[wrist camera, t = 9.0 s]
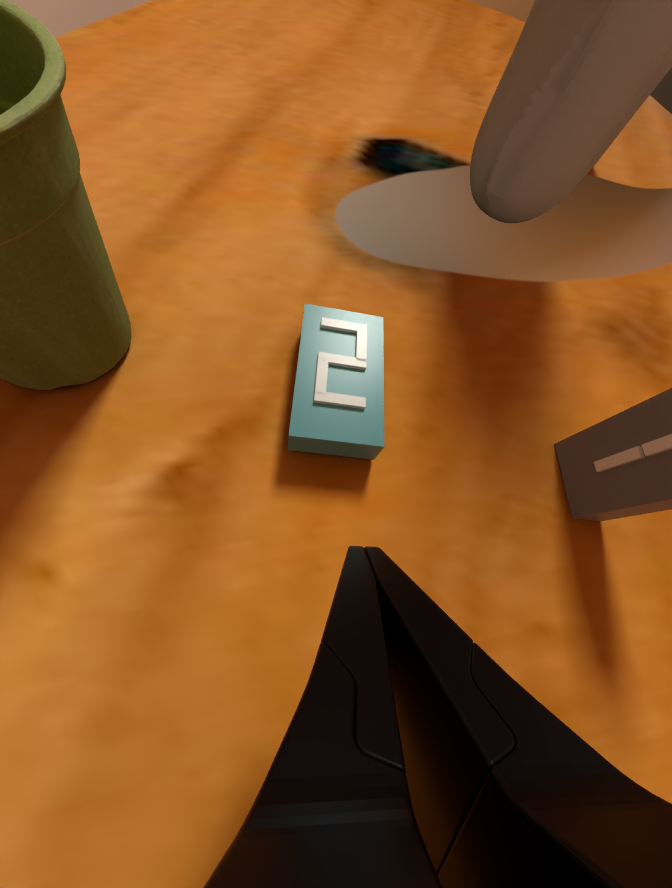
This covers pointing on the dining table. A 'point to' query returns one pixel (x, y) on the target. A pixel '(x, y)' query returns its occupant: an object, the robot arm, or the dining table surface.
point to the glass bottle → (566, 99)
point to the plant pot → (48, 227)
